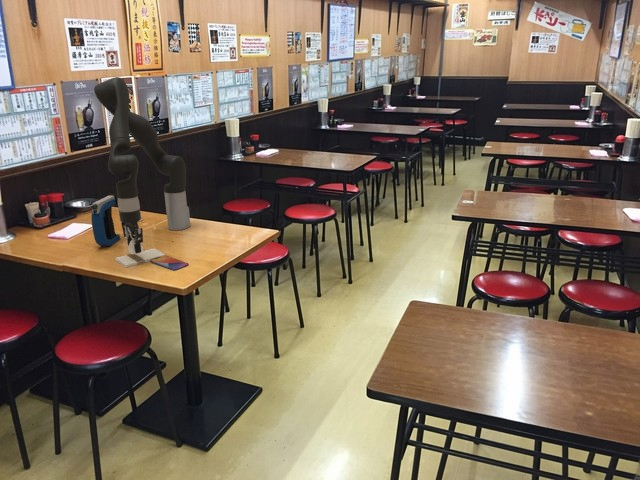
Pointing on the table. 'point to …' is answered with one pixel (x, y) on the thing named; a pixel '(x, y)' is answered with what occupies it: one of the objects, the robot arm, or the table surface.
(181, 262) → the smartphone
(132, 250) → the garlic bulb
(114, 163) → the robot arm
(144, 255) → the white panel
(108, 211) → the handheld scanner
